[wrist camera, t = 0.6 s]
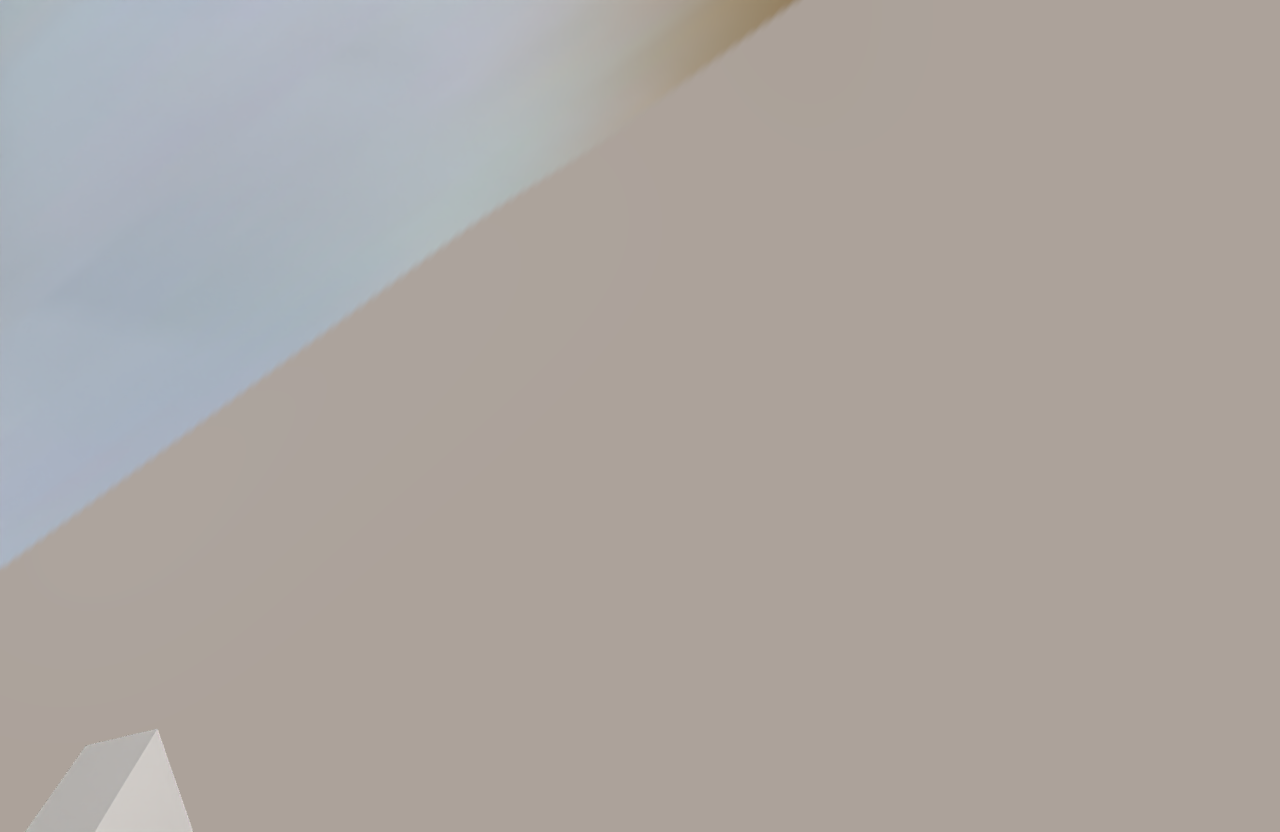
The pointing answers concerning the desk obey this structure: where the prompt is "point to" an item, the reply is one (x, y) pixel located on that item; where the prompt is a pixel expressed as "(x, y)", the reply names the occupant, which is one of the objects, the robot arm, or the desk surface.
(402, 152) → the desk surface
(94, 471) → the desk surface
